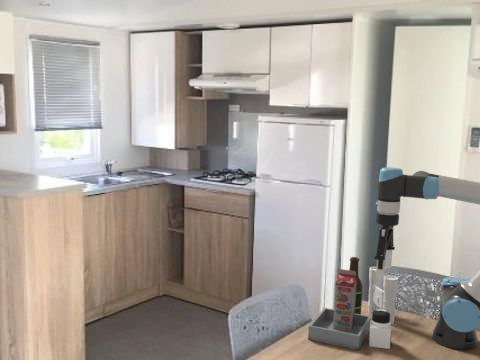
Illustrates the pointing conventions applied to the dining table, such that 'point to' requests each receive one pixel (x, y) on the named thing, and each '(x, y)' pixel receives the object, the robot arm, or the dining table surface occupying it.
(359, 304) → the beer bottle
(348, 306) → the juice carton
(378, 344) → the medicine bottle
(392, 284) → the binoculars
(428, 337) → the dining table surface
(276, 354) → the dining table surface
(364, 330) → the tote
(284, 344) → the dining table surface
